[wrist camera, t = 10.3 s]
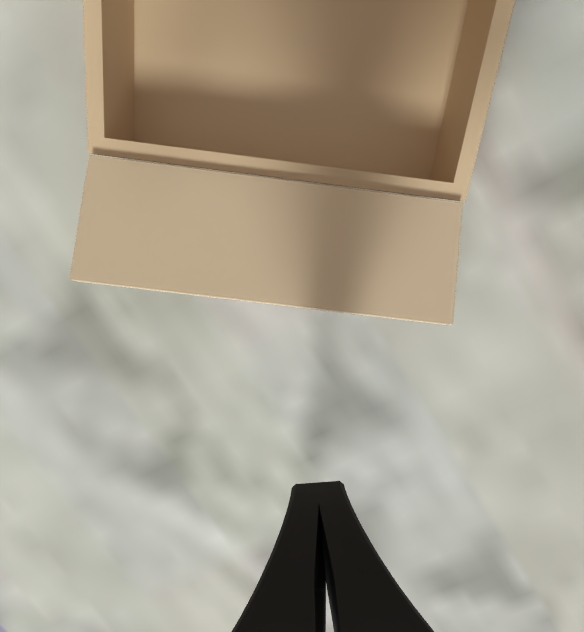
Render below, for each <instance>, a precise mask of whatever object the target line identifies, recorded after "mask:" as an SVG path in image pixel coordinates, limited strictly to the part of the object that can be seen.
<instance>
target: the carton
mask: <svg viewBox="0 0 584 632" xmlns="http://www.w3.org/2000/svg"><path fill="white" fill-rule="evenodd" d="M514 3H515V0H83V20H84V49H85V78H86V107H87V136H88V153H89V154H97V155H105V156H112V157H120V158H128V159H136V160H144V161H151V162H159V163H167V164H175V165H183V166H190V167H198V168H206V169H214V170H222V171H229V172H237V173H245V174H253V175H260V176H268V177H276V178H284V179H292V180H299V181H307V182H315V183H323V184H331V185H338V186H346V187H354V188H362V189H370V190H377V191H385V192H393V193H401V194H409V195H416V196H424V197H432V198H440V199H448V200H455V201H463V202H465V201H466V197H467V193H468V189H469V185H470V181H471V177H472V173H473V169H474V165H475V161H476V157H477V153H478V149H479V145H480V141H481V136H482V132H483V128H484V124H485V120H486V116H487V112H488V108H489V104H490V100H491V96H492V92H493V88H494V84H495V80H496V76H497V72H498V68H499V64H500V60H501V56H502V52H503V48H504V44H505V40H506V36H507V31H508V27H509V23H510V19H511V15H512V11H513V7H514Z"/></svg>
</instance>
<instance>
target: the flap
mask: <svg viewBox="0 0 584 632" xmlns="http://www.w3.org/2000/svg"><path fill="white" fill-rule="evenodd" d="M462 208H463V203H460V202H452V201H445V200H437V199H429V198H421V197H413V196H406V195H398V194H390V193H382V192H374V191H366V190H359V189H351V188H343V187H335V186H327V185H320V184H312V183H304V182H296V181H288V180H281V179H273V178H265V177H257V176H249V175H242V174H234V173H226V172H218V171H210V170H203V169H195V168H187V167H179V166H171V165H164V164H156V163H148V162H140V161H132V160H125V159H117V158H109V157H101V156H93V155H89V160H88V167H87V173H86V179H85V185H84V192H83V198H82V204H81V210H80V217H79V223H78V229H77V236H76V242H75V248H74V254H73V261H72V267H71V273H70V279H71V280H74V281H77V282H86V283H94V284H103V285H111V286H120V287H128V288H137V289H145V290H154V291H162V292H170V293H179V294H187V295H196V296H204V297H213V298H221V299H230V300H238V301H247V302H255V303H264V304H272V305H281V306H289V307H297V308H306V309H314V310H323V311H331V312H340V313H348V314H357V315H365V316H374V317H382V318H391V319H399V320H408V321H416V322H424V323H433V324H441V325H452V324H453V317H454V305H455V293H456V281H457V268H458V256H459V244H460V232H461V220H462Z"/></svg>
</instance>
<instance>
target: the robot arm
mask: <svg viewBox="0 0 584 632" xmlns="http://www.w3.org/2000/svg"><path fill="white" fill-rule="evenodd" d="M326 584H327V590H328V596H329V602H330V609H331V615H332V621H333V627H334V632H434V631H433V630H432V628H431V627H430V626H429V625H428V623H427V622H426V621H425V620H424V618H423V617H422V616H421V615H420V613H419V612H418V611H417V610H416V608H415V607H414V606H413V604H412V603H411V602H410V600H409V599H408V598H407V596H406V595H405V594H404V592H403V591H402V590H401V588H400V587H399V585H398V584H397V582H396V581H395V580H394V578H393V577H392V575H391V574H390V572H389V571H388V569H387V568H386V566H385V565H384V563H383V561H382V560H381V558H380V557H379V555H378V554H377V552H376V550H375V549H374V547H373V545H372V543H371V542H370V540H369V538H368V536H367V535H366V533H365V531H364V529H363V528H362V526H361V524H360V522H359V520H358V518H357V516H356V514H355V512H354V510H353V508H352V506H351V503H350V501H349V499H348V496H347V493H346V491H345V487H344V484H343V483H341V482H340V481H334V482H320V483H306V484H295V485H294V486H293V487H292V491H291V496H290V501H289V505H288V508H287V512H286V515H285V518H284V521H283V524H282V527H281V530H280V533H279V535H278V538H277V541H276V543H275V546H274V548H273V551H272V553H271V556H270V558H269V560H268V562H267V565H266V567H265V569H264V571H263V573H262V576H261V578H260V580H259V582H258V584H257V586H256V588H255V590H254V592H253V594H252V596H251V598H250V600H249V602H248V604H247V606H246V607H245V609H244V611H243V613H242V615H241V617H240V618H239V620H238V622H237V624H236V625H235V627H234V629H233V630H232V632H325V631H326Z"/></svg>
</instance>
